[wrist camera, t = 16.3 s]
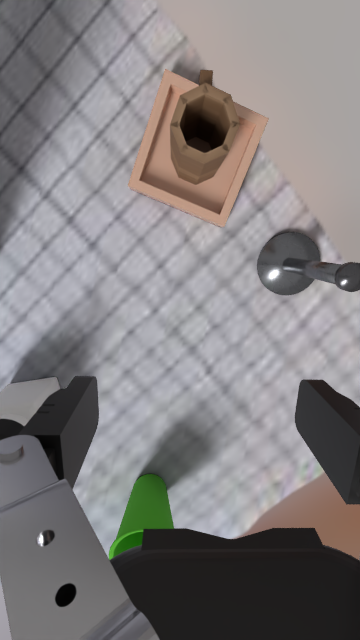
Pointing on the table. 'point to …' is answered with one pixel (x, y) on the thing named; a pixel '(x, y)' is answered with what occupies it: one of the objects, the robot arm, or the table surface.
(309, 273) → the paper towel holder
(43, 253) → the table surface
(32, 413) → the medicine bottle
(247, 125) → the tray
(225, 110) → the octagonal pencil holder
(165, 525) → the cup
